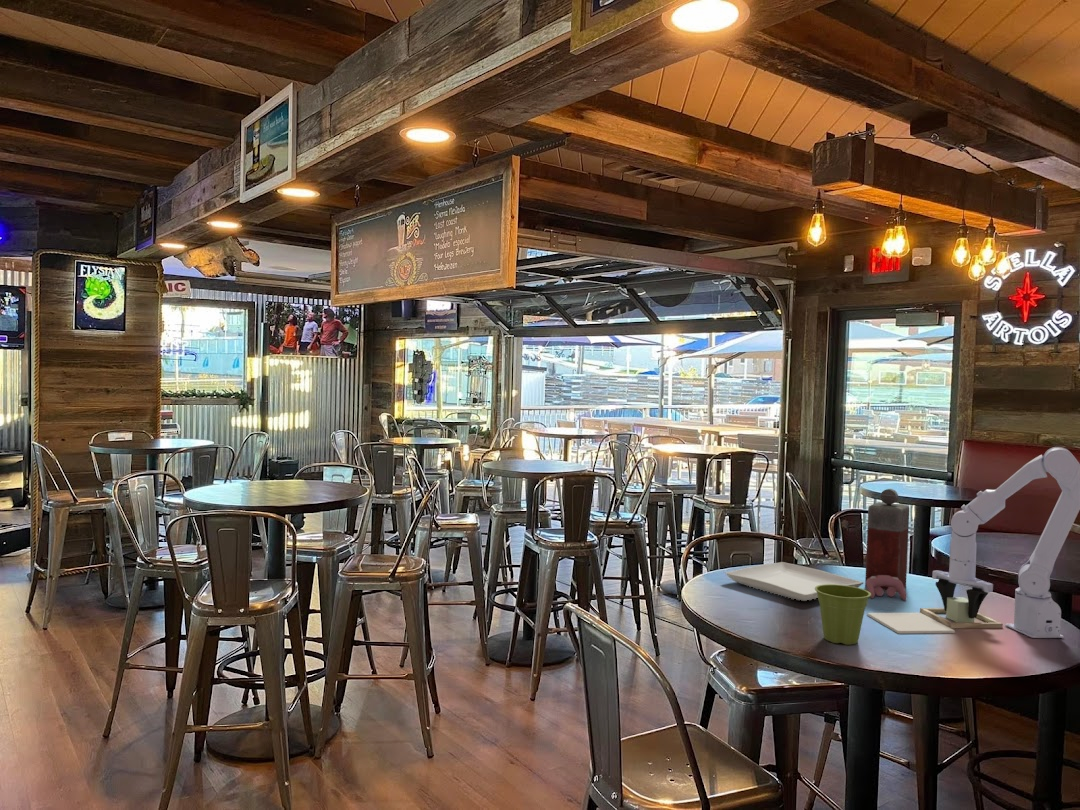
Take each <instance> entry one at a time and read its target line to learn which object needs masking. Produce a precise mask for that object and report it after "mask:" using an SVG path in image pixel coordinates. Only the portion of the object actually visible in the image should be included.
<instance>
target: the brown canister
mask: <svg viewBox="0 0 1080 810" xmlns="http://www.w3.org/2000/svg"><path fill="white" fill-rule="evenodd" d="M880 499H881V501H882V502H879V501H878V502H876V503H873V504H870V505H868V511H867V530H866V531H867V533H866V535H867V536H866V552H865V553H866V557H865V578H864V579H865V582H864V584H865V585H864V586H865V587H866V588H867V586H866V580H867V579H868V578H870V577H872V576H877V575H889V576H892V577H897V578H898V579H899V580H900V581H901V582H902V583H903V586H904V588H906V587H907V573H908V571H907V569H908V568H907V567H908V553H909V552H908V551H909V550H908V548H909V545H908V544H909V525H910V524H909V523H910V507H909V506H908V505H906V504H899V503H896V502H897V501H898V499H899V493H898V492H897V491H896V489H893V488H886V489H884V490H882V491H881V493H880ZM880 587H881V588H882V589H883V591H886V590H887V589H888V587H886V586H880Z"/></svg>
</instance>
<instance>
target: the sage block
mask: <svg viewBox="0 0 1080 810" xmlns="http://www.w3.org/2000/svg"><path fill="white" fill-rule="evenodd" d="M968 609H969V603H968V598H966V597H963V596H961V597H959V596H955V597H954V596H953V597H947V611H946V613H945V614H946V616H945V617H946V619H949V620H950V621H954V623H975V618H969V615H968Z"/></svg>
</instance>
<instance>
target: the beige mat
mask: <svg viewBox="0 0 1080 810" xmlns="http://www.w3.org/2000/svg"><path fill="white" fill-rule="evenodd" d="M866 615H867V617H870V618H871V619H873V620H874V621H876V622H878V624H881V625H883V626H885V627H886V628H888V629H889V630H891V631H893V632H895V633H897V634H901V635H902V634H956V630H955V629H954V628H950V627H948V626H946V625H944V624H942V623H940V622H938V621H937V620H935V619H933V618H931V617H929V616H927V615H925V614H923V613H921V612H867V613H866Z"/></svg>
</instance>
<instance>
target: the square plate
mask: <svg viewBox="0 0 1080 810" xmlns="http://www.w3.org/2000/svg"><path fill="white" fill-rule="evenodd" d="M725 575H727V577H728V578H729V579H731V580H732V581H734V582H736V583H738V584H741V585H744V586H746V587H748V586H749V588H751V587H753V588H752V589H754V588H756V589H755V590H758V589H760V590H759V591H761V590H763V591H762V592H765V591H767V592H766V593H768V592H770V593H769V594H772V593H774V594H773V595H775V594H778V595H777V596H779V595H781V596H780V597H782V596H785V597H784V598H786V597H788V598H787V599H789V598H791V599H790V600H794V599H796V600H795V601H800V600H801V601H802V602H807V600H809V601H813V600H812V599H814V600H817V599H816V598H818V595H817V591H816V590H815V587H816V586H818V585H826V584H828V585H829V584H834V585H845V586H852V587H856V588H860V587H861V586H862V585H863V584H864V582H863V581H861V580H858V579H857V580H856V579H853V578H849V577H846V576H842V575H839V574H835V573H832V572H828V571H825V570H821V569H817V568H813V567H808V566H803V565H800V564H799V565H797V564H793V563H788V562H784V561H780V562H779V561H778V562H773V563H764V564H759V565H754V566H749V567H744V568H740V569H737V570H736V569H734V570H732V571H727V572H725ZM801 601H800V602H801Z"/></svg>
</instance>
